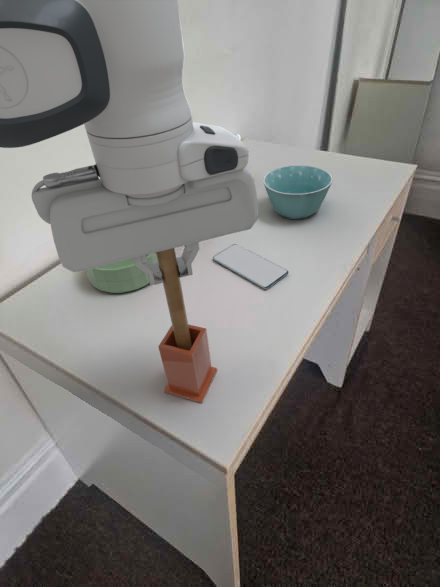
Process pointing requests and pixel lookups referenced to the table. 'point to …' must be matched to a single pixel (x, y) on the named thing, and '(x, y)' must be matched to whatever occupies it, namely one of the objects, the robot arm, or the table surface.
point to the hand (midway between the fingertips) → (170, 277)
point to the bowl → (297, 189)
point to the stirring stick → (174, 297)
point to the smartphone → (251, 266)
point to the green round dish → (120, 276)
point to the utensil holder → (187, 365)
